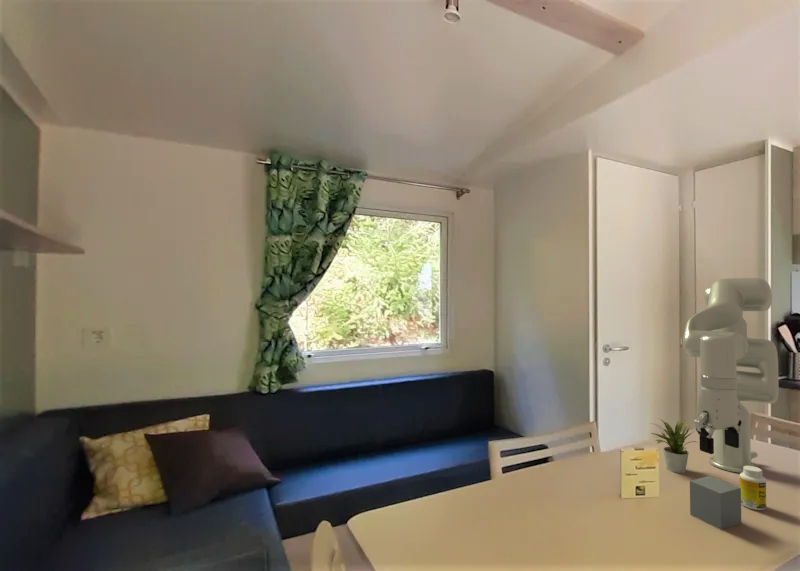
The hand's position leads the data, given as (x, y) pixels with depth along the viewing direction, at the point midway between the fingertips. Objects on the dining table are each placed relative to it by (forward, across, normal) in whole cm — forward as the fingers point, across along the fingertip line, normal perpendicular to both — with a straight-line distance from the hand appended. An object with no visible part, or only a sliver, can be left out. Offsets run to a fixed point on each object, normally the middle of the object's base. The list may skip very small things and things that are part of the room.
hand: (719, 449), depth 113 cm
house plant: (+18, -18, -26) cm, 37 cm away
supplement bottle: (+18, -14, 0) cm, 23 cm away
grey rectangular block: (+18, +2, 0) cm, 18 cm away
